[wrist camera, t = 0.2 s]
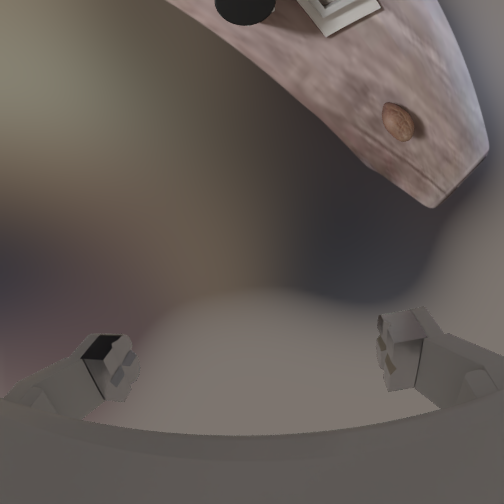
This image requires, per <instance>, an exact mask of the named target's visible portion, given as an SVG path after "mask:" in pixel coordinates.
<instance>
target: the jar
mask: <svg viewBox="0 0 504 504" xmlns="http://www.w3.org/2000/svg"><path fill="white" fill-rule="evenodd" d="M275 1H276V0H215V6H216V9H217V11H218V13H219V14H220V16H222V17H223V18H224V19H225V20H227V21H228V22H230V23H233V24H236V25H242V26H250V25H253V24H257V23H259V22H261V21H263V20H264V19H266V18H267V17H268V16H269V15H270V14H271V13H272V12H274V11H275Z"/></svg>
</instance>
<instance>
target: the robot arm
mask: <svg viewBox="0 0 504 504" xmlns="http://www.w3.org/2000/svg"><path fill="white" fill-rule="evenodd" d="M377 326H378V327H377V328H378V330H379V332H380V335H379V337H378V338H377V345H376V349H377V359H378V363H379V366H380V368H381V369H383V370H384V374H383V378H384V381H385V384H386V387H387V390H388V392H391V391H397V390H403V389H408V388H414V387H415V389H416V390H417V391H418V392H420V393H421V394H422V395H424V396H425V397H426V398H428V399H429V400H430V401H431V402H433V403H434V404H435V405H437V406H438V407H439V408H441V409H440V410H436V411H433V412H428V413H424V414H420V415H416V416H412V417H407V418H403V419H398V420H393V421H388V422H383V423H378V424H372V425H366V426H360V427H353V428H346V429H338V430H330V431H320V432H310V433H298V434H281V435H251V436H225V435H195V434H179V433H166V432H157V431H148V430H139V429H132V428H125V427H118V426H112V425H106V424H100V423H95V422H90V421H84V420H82V419H83V418H84V417H85V416H87V415H88V414H89V413H90V412H92V411H93V410H94V409H96V408H97V407H98V406H99V405H101V404H102V403H103V402H104V400H108V401H118V402H125V400H126V398H127V396H128V395H129V393H130V391H131V386H130V385H131V384H132V383H134V382H135V381H136V380H137V379H138V377H139V373H140V363H139V359H138V357H137V355H136V354H135V353H134V352H132V350H131V348H132V343H131V340H130V338H129V337H128V336H127V335H125V334H90V335H88V336H87V337H86V339H85V340H84V341H83V342H82V343H81V344H80V345H79V346H78V348H77V349H76V350H75V351H74V352H73V353H72V355H71V356H70V357H69V358H64V359H62V360H60V361H58V362H56V363H54V364H52V365H50V366H48V367H46V368H44V369H42V370H40V371H38V372H36V373H35V374H33V375H30V376H29V377H26V378H24V379H23V380H20V381H19V382H17V383H16V384H15V385H14V387H13V388H12V389H11V390H10V391H9V393H7V395H6V396H5V397H4V398H0V504H504V356H502V355H499V354H497V353H495V352H492V351H490V350H487V349H485V348H483V347H480V346H478V345H476V344H473V343H471V342H468V341H466V340H464V339H461V338H459V337H457V336H454V335H452V334H450V333H447V334H444V333H443V331H442V330H441V328H440V327H439V325H438V324H437V323H436V321H435V320H434V319H433V317H432V316H431V314H430V313H429V311H428V310H427V309H426V308H425V307H419V308H414V309H410V310H405V311H400V312H394V313H389V314H383V315H379V316H378V324H377Z"/></svg>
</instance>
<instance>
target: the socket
mask: <svg viewBox="0 0 504 504" xmlns="http://www.w3.org/2000/svg"><path fill="white" fill-rule="evenodd" d="M296 1H297V2H298V3H299V4H300V6H301V7H302V8H303V9H304V10H305V12H306V13H307V14H308V15H309V17H310V18H311V19H312V20H313V22H314V23H315V24H316V25H317V27H318V28H319V29H320V31H321V32H322V33H323V35H324V36H325V37H327V36H329V35H331V34H332V33H334V32H336V31H338V30H340V29H341V28H343V27H345V26H347V25H349V24H350V23H352V22H354V21H356V20H358V19H360V18H362V17H364V16H366V15H368V14H370V13H372V12H374V11H376V10H378V9H380V8H381V7H380V5H379V4H378V2H377V1H376V0H335V1H333V2H332V3H330V4H328V5H326V6H324V7H323V6H322V4H321V3H320V2H319V1H318V0H296Z"/></svg>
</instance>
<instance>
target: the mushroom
mask: <svg viewBox="0 0 504 504" xmlns="http://www.w3.org/2000/svg"><path fill="white" fill-rule="evenodd" d="M382 120H383V124H384V126H385V128H386V129H387V131H388V132H389V133H390V134H391V135H392V136H393V137H394V138H396V139H397V140H399V141H401V142H405V141H408V140H410V139H411V138H412V136H413V133H414V123H413V121H412V119H411V116H410V114H408V112H406V111H405V110H403V109H402V108H400V107H399V106H398V105H396V104H393V103H390V102H388V103H385V104H384V106H383V111H382Z"/></svg>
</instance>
